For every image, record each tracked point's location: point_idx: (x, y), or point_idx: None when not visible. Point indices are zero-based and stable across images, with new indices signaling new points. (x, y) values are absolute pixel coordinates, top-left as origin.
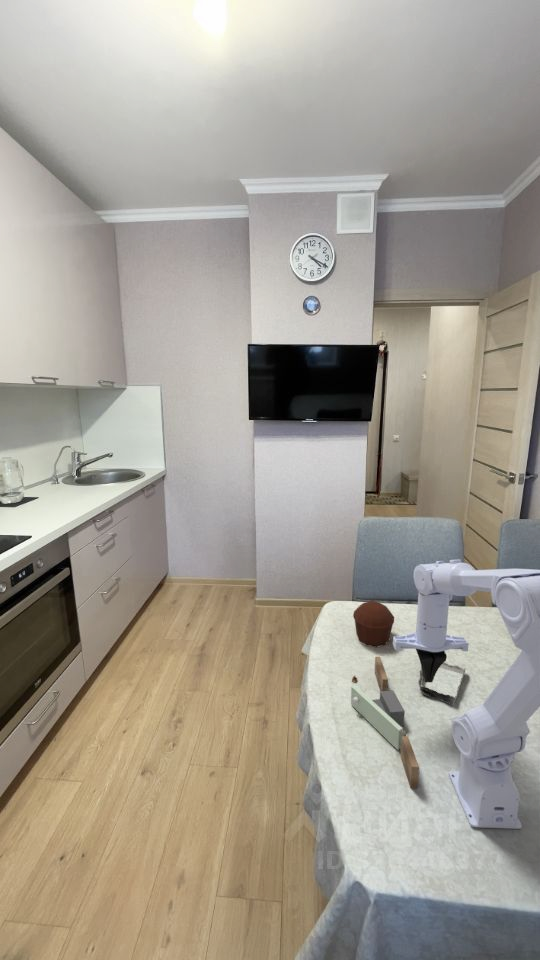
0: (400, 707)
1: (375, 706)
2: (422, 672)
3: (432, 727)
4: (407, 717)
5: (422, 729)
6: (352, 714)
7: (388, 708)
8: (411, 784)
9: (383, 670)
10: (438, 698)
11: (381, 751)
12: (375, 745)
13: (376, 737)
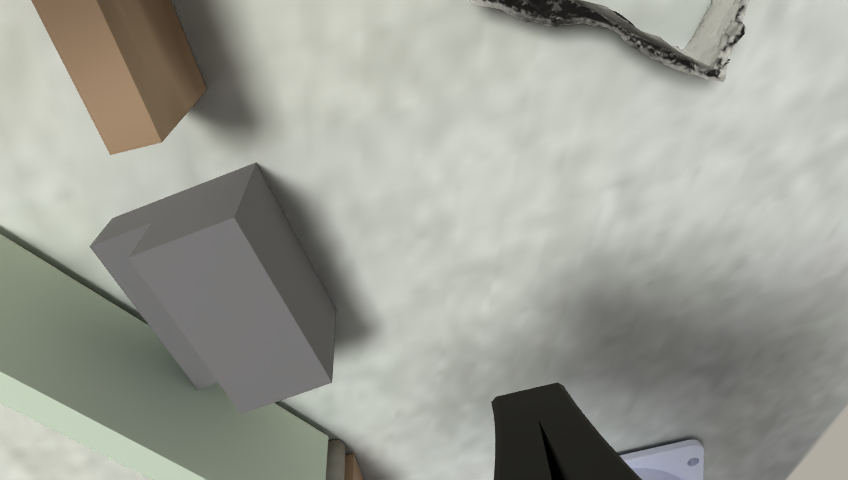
0: (303, 361)
1: (130, 454)
2: (495, 423)
3: (498, 271)
4: (358, 239)
5: (440, 298)
6: None
7: (223, 384)
8: None
9: (79, 6)
10: (596, 6)
11: None
12: None
13: None
